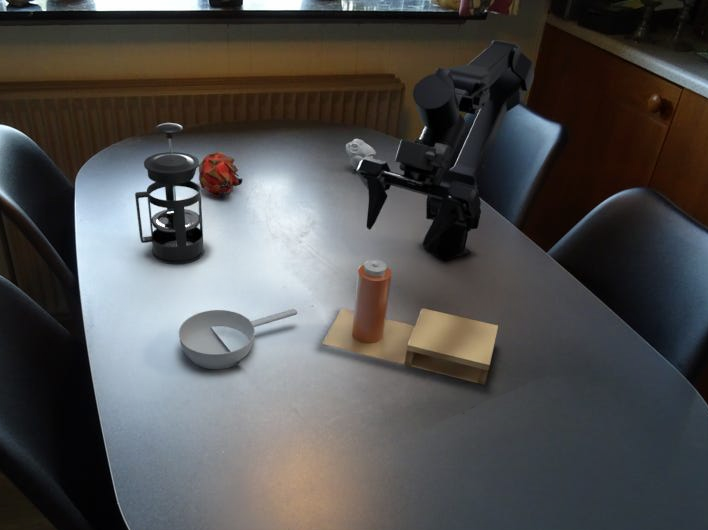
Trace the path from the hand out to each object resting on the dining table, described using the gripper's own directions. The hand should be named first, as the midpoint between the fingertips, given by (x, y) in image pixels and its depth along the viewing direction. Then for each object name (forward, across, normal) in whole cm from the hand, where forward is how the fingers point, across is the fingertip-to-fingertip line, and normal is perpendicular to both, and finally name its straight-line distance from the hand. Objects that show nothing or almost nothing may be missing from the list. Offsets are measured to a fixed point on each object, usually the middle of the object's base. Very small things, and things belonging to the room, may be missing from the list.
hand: (395, 237), depth 100 cm
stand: (+14, +7, +6) cm, 17 cm away
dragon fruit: (-6, -50, +25) cm, 56 cm away
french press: (+13, -40, +7) cm, 43 cm away
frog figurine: (-27, -32, +44) cm, 61 cm away
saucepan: (+24, -14, -3) cm, 28 cm away
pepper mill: (+14, +1, +4) cm, 15 cm away
